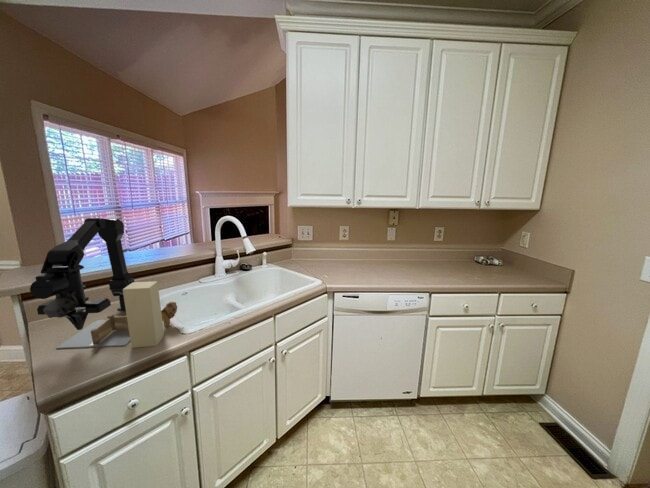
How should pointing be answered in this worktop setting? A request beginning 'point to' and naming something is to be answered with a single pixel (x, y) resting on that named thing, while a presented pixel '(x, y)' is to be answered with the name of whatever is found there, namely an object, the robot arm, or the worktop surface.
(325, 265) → the worktop surface
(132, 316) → the toy refrigerator
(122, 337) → the board
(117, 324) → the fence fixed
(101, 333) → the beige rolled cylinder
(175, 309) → the lion figurine
